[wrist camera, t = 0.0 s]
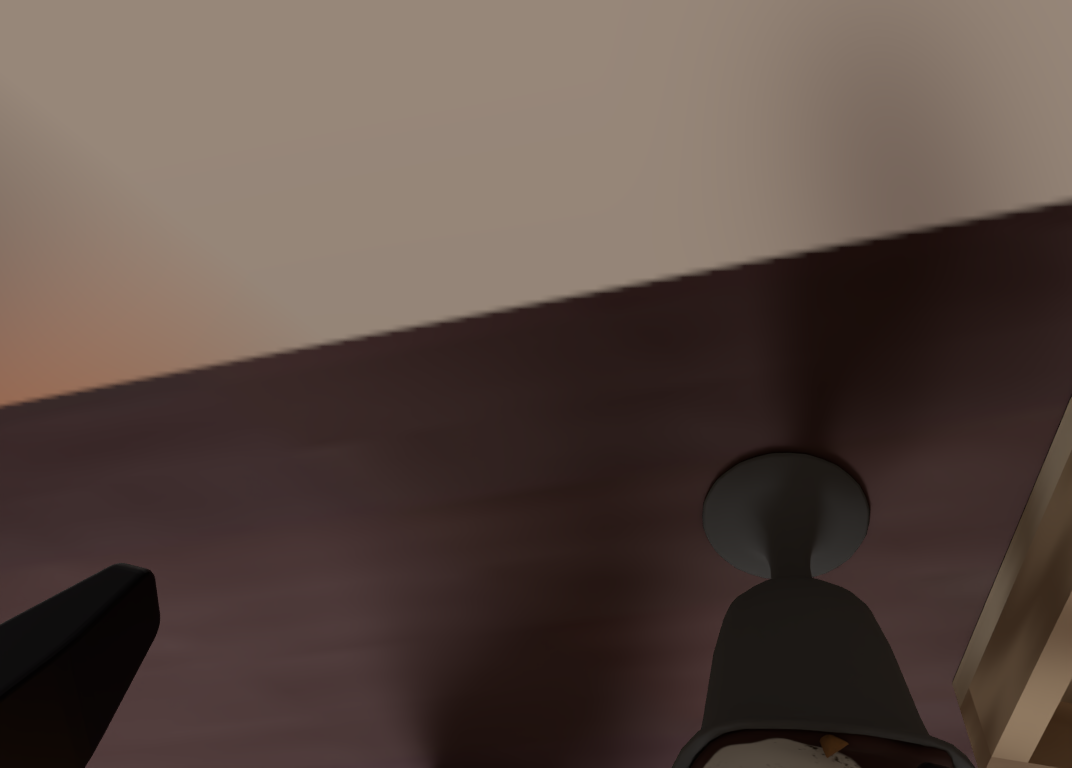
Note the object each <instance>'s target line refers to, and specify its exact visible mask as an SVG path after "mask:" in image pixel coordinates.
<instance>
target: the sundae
mask: <svg viewBox="0 0 1072 768" xmlns="http://www.w3.org/2000/svg"><path fill="white" fill-rule="evenodd" d="M869 515H870V509H869V506H868V503H867V499H866V497H865V495H864V493H863V491H862V489H861V487H860V485H859V484H858V483H857V482H856V481H855V480H854V479H853V478H852V477H851V476H850V475H849V474H848V473H847V472H845V471H844V470H843V469H841V468H840V467H839V466H837V465H835V464H833V463H831V462H828V461H826V460H823V459H821V458H817V457H814V456H811V455H807V454H798V453H771V454H766V455H762V456H758V457H754V458H752V459H749V460H746V461H743V462H740V463H739V464H737V465H736V466H734V467H733V468H731V469H730V470H728V471H727V472H726V473H724V474H723V475H722V476H721V477H720V478H718V479H717V480H716V482H715V483H714V485H713V486H712V488H711V489H710V491H709V493H708V495H707V497H706V499H705V501H704V504H703V515H702V517H703V528H704V531H705V533H706V535H707V538H708V540H709V541H710V543H711V545H712V546H713V548H714V549H715V551H716V552H717V553H718V554H719V555H720V556H721V557H722V558H724V559H725V560H726V561H727V562H728V563H730V564H731V565H733V566H734V567H735V568H737V569H739V570H742V571H744V572H747V573H749V574H752V575H756V576H759V577H763V578H770V580H767V581H764V582H762V583H760V584H758V585H756V586H754V587H752V588H751V589H749V590H748V591H746V592H745V593H743V594H741V595H740V596H738V597H737V598H736V599H735V600H734V601H733V602H732V604H731V605H730V607H729V609H728V611H727V613H726V615H725V617H724V620H723V623H722V627H721V630H720V633H719V637H718V640H717V644H716V647H715V650H714V654H713V660H712V667H711V673H710V679H709V685H708V692H707V698H706V704H705V711H704V717H703V722H702V727H701V730H700V731H698V732H697V733H696V734H695V735H694V736H693V737H692V738H691V739H690V740H689V742H688V743H687V744H686V745H685V746H684V747H683V748H682V749H681V751H680V753H679V755H678V757H677V759H676V761H675V762H674V764H673V766H672V768H917V767H918V766H919V765H920V764H922V763H924V762H931V763H935V764H939V765H943V766H947V767H951V768H975V767H974V766H973V764H972V763H971V762H970V760H969V759H968V757H967V756H966V755H965V754H963V753H962V752H961V751H960V750H958V749H957V748H956V747H955V746H954V745H952V744H950V743H948V742H945V741H943V740H940V739H938V738H935V737H932V736H930V735H929V734H928V732H927V730H926V728H925V726H924V724H923V722H922V720H921V718H920V716H919V713H918V711H917V709H916V706H915V704H914V701H913V699H912V697H911V694H910V692H909V689H908V687H907V685H906V682H905V680H904V677H903V675H902V673H901V670H900V668H899V665H898V663H897V661H896V658H895V656H894V654H893V651H892V649H891V647H890V645H889V643H888V641H887V639H886V637H885V636H884V634H883V632H882V630H881V628H880V627H879V625H878V623H877V621H876V619H875V617H874V616H873V614H872V612H871V610H870V609H869V608H868V606H867V605H866V604H865V603H864V602H862V601H861V600H860V599H859V598H858V597H856V596H855V595H854V594H853V593H852V592H850V591H848V590H846V589H844V588H843V587H840V586H837V585H834V584H831V583H828V582H825V581H822V580H818V579H814V578H812V577H814V576H818V575H821V574H825V573H827V572H829V571H831V570H833V569H834V568H836V567H838V566H840V565H841V564H842V563H844V562H845V561H847V560H848V559H850V557H851V556H852V555H853V554H854V552H855V551H856V550H857V549H858V547H859V546H860V544H861V543H862V541H863V539H864V538H865V536H866V534H867V530H868V525H869Z"/></svg>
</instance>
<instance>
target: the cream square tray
mask: <svg viewBox="0 0 1072 768" xmlns="http://www.w3.org/2000/svg"><path fill="white" fill-rule="evenodd" d="M952 684H953V688H954V691H955V694H956V697H957V701H958V704H959V707H960V710H961V714H962V717H963V720H964V723H965V727H966V730H967V733H968V736H969V739H970V743H971V746H972V749H973V752H974V756H975V759H976V762H977V765H978V768H1072V397H1071V399H1070V401H1069V404H1068V406H1067V409H1066V411H1065V413H1064V416H1063V418H1062V421H1061V423H1060V425H1059V428H1058V430H1057V433H1056V435H1055V438H1054V440H1053V442H1052V445H1051V447H1050V450H1049V452H1048V454H1047V457H1046V459H1045V462H1044V464H1043V466H1042V469H1041V471H1040V474H1039V476H1038V478H1037V481H1036V483H1035V486H1034V488H1033V490H1032V493H1031V495H1030V498H1029V500H1028V502H1027V505H1026V507H1025V510H1024V512H1023V514H1022V517H1021V519H1020V522H1019V524H1018V526H1017V529H1016V531H1015V534H1014V536H1013V539H1012V541H1011V543H1010V546H1009V548H1008V551H1007V553H1006V555H1005V558H1004V560H1003V563H1002V565H1001V567H1000V570H999V572H998V575H997V577H996V579H995V582H994V584H993V587H992V589H991V591H990V594H989V596H988V599H987V601H986V603H985V606H984V608H983V611H982V613H981V615H980V618H979V620H978V623H977V625H976V627H975V630H974V632H973V635H972V637H971V639H970V642H969V644H968V647H967V649H966V652H965V654H964V656H963V659H962V661H961V664H960V666H959V668H958V671H957V673H956V676H955V678H954V680H953V683H952Z"/></svg>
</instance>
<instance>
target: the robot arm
mask: <svg viewBox="0 0 1072 768" xmlns="http://www.w3.org/2000/svg"><path fill="white" fill-rule="evenodd" d="M159 624H160V611H159V603H158V596H157V589H156V581H155V576H154V574H153V573H152V572H151V570H148V569H146V568H142V567H138V566H134V565H130V564H125V563H118V564H114V565H112V566H109V567H107V568H106V569H104V570H102V571H100V572H98V573H96V574H94V575H92V576H90V577H89V578H87V579H85V580H83V581H81V582H79V583H77V584H75V585H73V586H72V587H70V588H68V589H66V590H64V591H62V592H60V593H58V594H57V595H55V596H53V597H51V598H49V599H47V600H45V601H43V602H41V603H40V604H38V605H36V606H34V607H32V608H30V609H28V610H26V611H25V612H23V613H21V614H19V615H17V616H15V617H13V618H11V619H9V620H8V621H6V622H4V623H2V624H0V768H85V766H86V765H87V763H88V761H89V760H90V758H91V757H92V755H93V753H94V751H95V750H96V748H97V746H98V744H99V742H100V741H101V739H102V737H103V735H104V733H105V731H106V730H107V728H108V726H109V724H110V722H111V720H112V718H113V716H114V714H115V713H116V711H117V709H118V707H119V705H120V703H121V701H122V699H123V697H124V695H125V694H126V692H127V690H128V688H129V686H130V684H131V682H132V680H133V678H134V677H135V675H136V673H137V671H138V669H139V667H140V665H141V663H142V661H143V659H144V658H145V656H146V654H147V652H148V650H149V648H150V646H151V644H152V642H153V641H154V639H155V636H156V634H157V631H158V628H159ZM917 768H951V767H947V766H943V765H939V764H935V763H931V762H924V763H922V764H920V765H919V766H918V767H917Z"/></svg>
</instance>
